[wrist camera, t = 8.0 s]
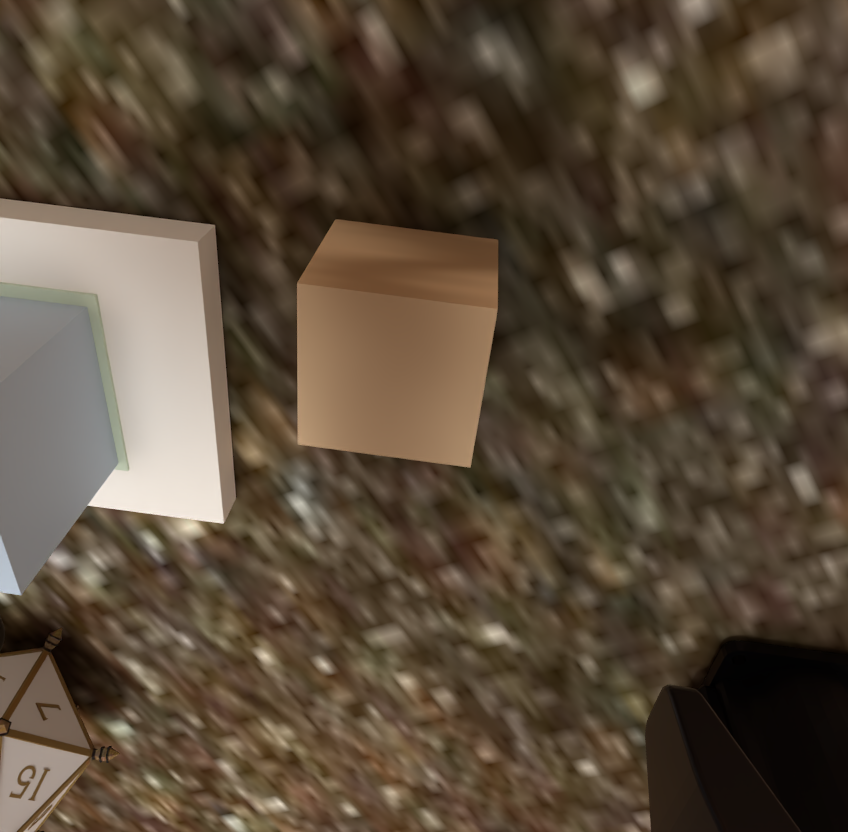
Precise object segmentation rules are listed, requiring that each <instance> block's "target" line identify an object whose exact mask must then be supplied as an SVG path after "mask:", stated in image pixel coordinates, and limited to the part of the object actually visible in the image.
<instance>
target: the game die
mask: <svg viewBox="0 0 848 832" xmlns="http://www.w3.org/2000/svg"><path fill="white" fill-rule="evenodd" d="M62 640H63V639H62V628H60V629H58V630H56V631H54V632H52V633H49V636H48V638H47V639H45V641H46V642H45V645H44V646H43V647H42V648H35V649H28V650H21V651H14V652H7V653H0V832H44V831H39V830H38V829H39V828H40V827H41V825H42V824H43V823H44V822H45V820H46V819H47V818H48V816H49V815H50V814H51V813H52V811H53V810H54V809H55V807H56V806H57V805H58V804H59V802H60V801H61V800H62V798H63V797H64V796H65V795H66V793H67V792H68V791H69V789H70V788H71V787H72V786H73V784H74V783H75V782H76V780H77V779H78V778H79V777H80V775H81V774H82V773H83V771H84V770H85V769H86V768H87V766H88V765H89V764H90V762H91V761H92V760H94V759H96V760H99V761H100V762H102V761H106V763H108V761H109V760H111V759H112V758H114V757H116V756H117V755H119V754H120V753H118V752H117V751H115V750H114V749H113V748H111V746H109V747H108V748H105V746H104V747H101V749H95V748H94V746H93V744H92V741H91V739H90V737H89V735H88V732H87V730H86V728H85V726H84V724H83V721H82V719H81V717H80V715H79V713H78V708H79V705H76V704H74V701H73V699H72V697H71V695H70V693H69V690H68V688H67V686H66V684H65V681H64V679H63V677H62V675H61V673H60V670H59V668H58V666H57V664H56V662H55V659H54V657H53V655H52V653H51V651H52V649H53V648H55V647H56V646H58V643H59V642H60V641H62Z"/></svg>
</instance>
